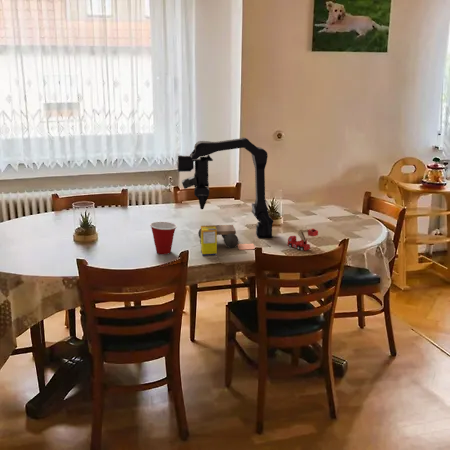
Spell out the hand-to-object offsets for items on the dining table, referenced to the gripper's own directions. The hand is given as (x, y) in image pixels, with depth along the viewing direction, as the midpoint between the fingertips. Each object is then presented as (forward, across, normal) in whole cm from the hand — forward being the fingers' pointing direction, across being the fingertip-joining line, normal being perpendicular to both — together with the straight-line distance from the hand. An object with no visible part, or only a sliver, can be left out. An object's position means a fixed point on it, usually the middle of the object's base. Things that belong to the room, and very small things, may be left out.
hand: (201, 206), depth 237 cm
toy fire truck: (+15, +15, +42) cm, 47 cm away
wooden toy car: (+15, +8, +7) cm, 18 cm away
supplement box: (+15, +20, +3) cm, 25 cm away
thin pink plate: (+15, +12, +19) cm, 27 cm away
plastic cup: (+15, +18, -16) cm, 28 cm away
